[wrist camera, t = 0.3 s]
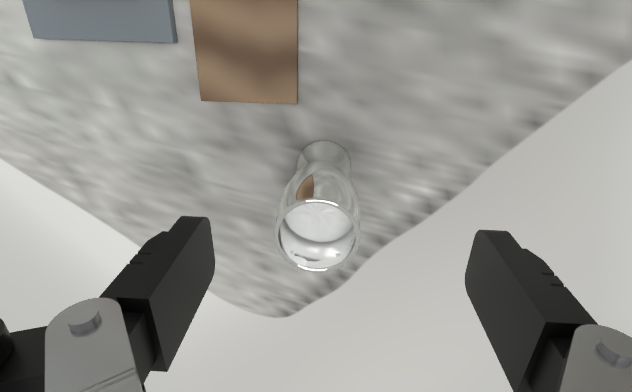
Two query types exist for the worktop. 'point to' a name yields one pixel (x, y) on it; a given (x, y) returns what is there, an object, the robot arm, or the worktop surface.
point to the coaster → (246, 50)
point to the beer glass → (319, 211)
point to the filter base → (102, 20)
